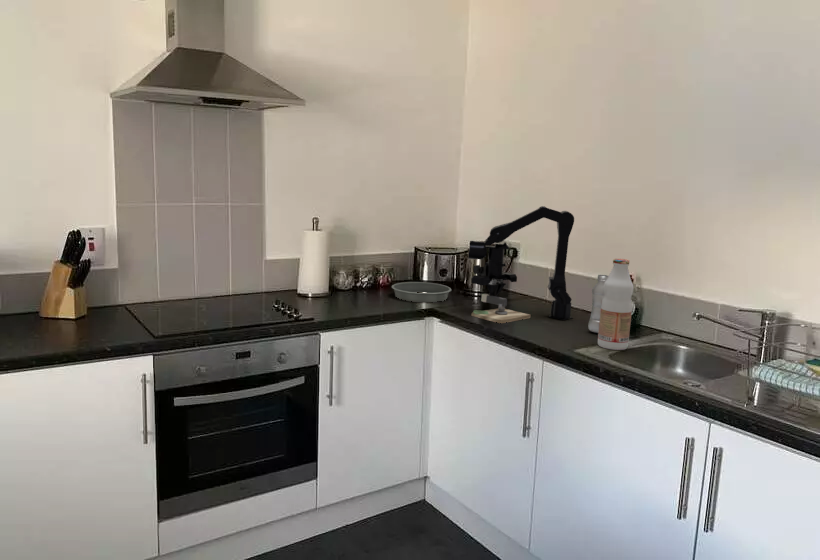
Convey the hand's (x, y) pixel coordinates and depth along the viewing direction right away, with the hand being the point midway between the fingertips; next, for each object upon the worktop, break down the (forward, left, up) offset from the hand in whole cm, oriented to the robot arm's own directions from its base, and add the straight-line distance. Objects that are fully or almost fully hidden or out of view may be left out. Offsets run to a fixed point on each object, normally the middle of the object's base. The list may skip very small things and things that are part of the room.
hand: (493, 301), depth 259 cm
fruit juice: (-53, +3, -5) cm, 54 cm away
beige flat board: (-5, +3, -4) cm, 7 cm away
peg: (-2, +2, -2) cm, 4 cm away
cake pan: (+36, +3, -5) cm, 36 cm away
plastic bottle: (-40, -9, -5) cm, 42 cm away
